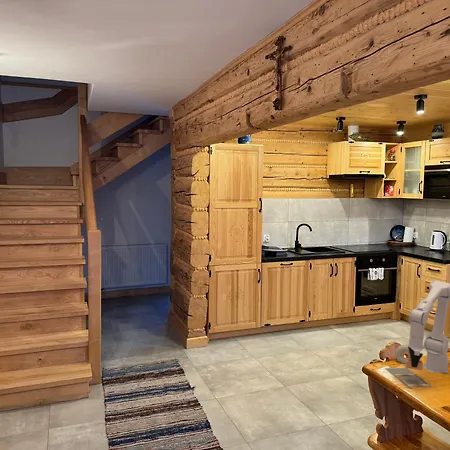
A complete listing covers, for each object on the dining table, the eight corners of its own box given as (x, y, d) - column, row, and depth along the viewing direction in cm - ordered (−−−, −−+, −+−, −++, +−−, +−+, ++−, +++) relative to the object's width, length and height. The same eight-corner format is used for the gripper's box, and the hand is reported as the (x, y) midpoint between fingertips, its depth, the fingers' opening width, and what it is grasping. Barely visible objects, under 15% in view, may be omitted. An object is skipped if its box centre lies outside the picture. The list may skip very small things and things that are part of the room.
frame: (416, 375, 205) (416, 373, 205) (430, 386, 194) (430, 384, 194) (394, 376, 203) (394, 374, 203) (408, 387, 193) (408, 385, 192)
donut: (415, 365, 219) (417, 345, 218) (415, 367, 216) (417, 348, 215) (394, 360, 223) (396, 342, 222) (394, 363, 220) (395, 344, 219)
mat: (406, 369, 213) (407, 367, 213) (432, 388, 194) (432, 386, 194) (384, 369, 211) (384, 368, 211) (407, 389, 192) (407, 387, 192)
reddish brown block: (405, 367, 197) (406, 361, 197) (404, 364, 201) (405, 357, 201) (422, 370, 195) (423, 363, 195) (421, 367, 199) (422, 360, 199)
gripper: (428, 342, 189) (425, 372, 190) (424, 332, 202) (421, 360, 204) (410, 340, 191) (407, 370, 192) (408, 330, 204) (405, 357, 206)
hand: (413, 364), depth 198 cm, fingers closed on reddish brown block, 4 cm apart
